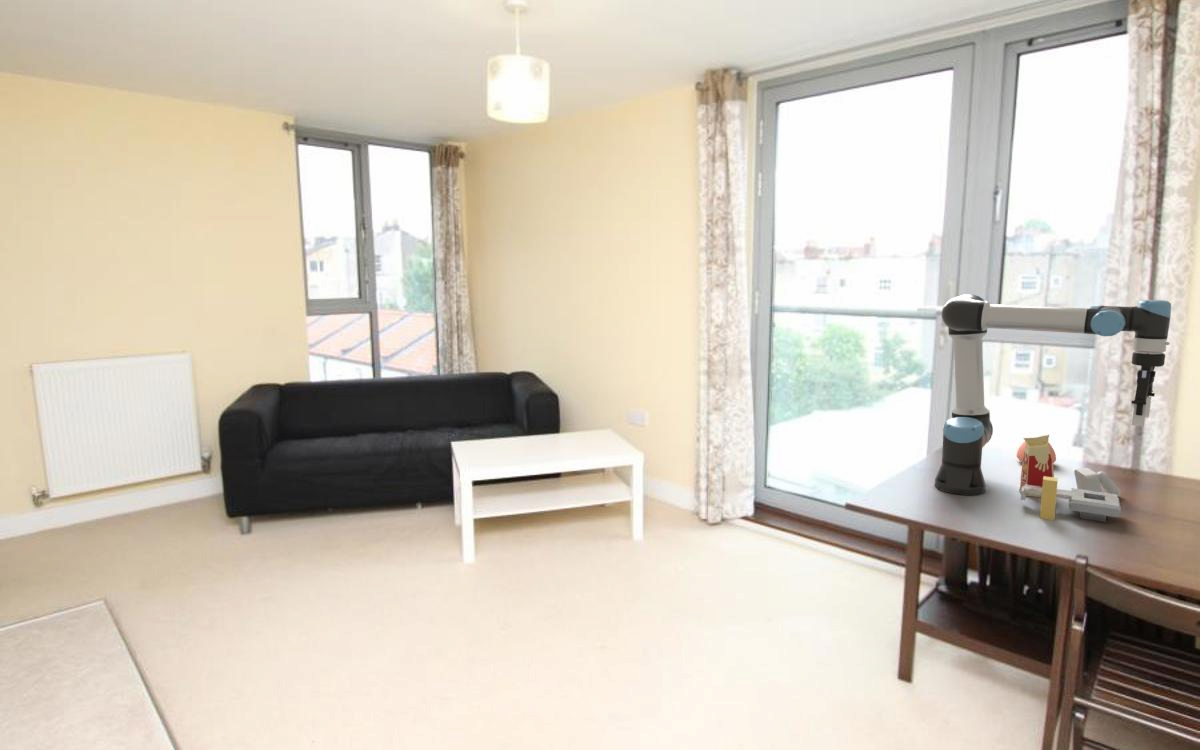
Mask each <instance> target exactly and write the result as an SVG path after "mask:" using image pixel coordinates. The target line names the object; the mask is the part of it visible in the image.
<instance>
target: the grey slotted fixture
mask: <svg viewBox="0 0 1200 750" xmlns="http://www.w3.org/2000/svg"><path fill="white" fill-rule="evenodd" d="M1026 493H1029V494H1035V495H1042V487H1040V486H1033V485H1026V484H1025V486H1022V490H1021V492H1020V500H1021V501H1026V498H1027V496H1026ZM1057 498H1058V499H1064V500H1068V510H1070V511H1075V512H1076V511H1077V512H1079V518H1080V519H1085V520H1091V521H1096V522H1097V521H1099V522H1102V523H1104V522H1105V523H1106V521H1107V517H1113V518H1121V515H1122V514H1121V513H1122V508H1121V503H1120V502H1121V501H1120V498H1119V496H1118V497H1117V494H1110V493H1108V492H1104V491H1103V492H1096V491H1089V490H1082V489H1078V488H1074V487H1073V488H1072V487H1071V490H1067V489H1060V488H1057V493H1056V499H1057Z"/></svg>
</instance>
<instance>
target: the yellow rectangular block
mask: <svg viewBox="0 0 1200 750" xmlns="http://www.w3.org/2000/svg"><path fill="white" fill-rule="evenodd" d="M1058 479H1059V478H1058V477H1055V476H1054V477H1046V476H1043V486H1042V497H1040V498H1041V499H1040V500H1041V501H1040V510H1039V511H1040V513H1039V518H1040V519H1044V520H1050V521H1055V511H1056V501H1057V498H1056V493H1057V489H1058V481H1059V480H1058Z"/></svg>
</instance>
